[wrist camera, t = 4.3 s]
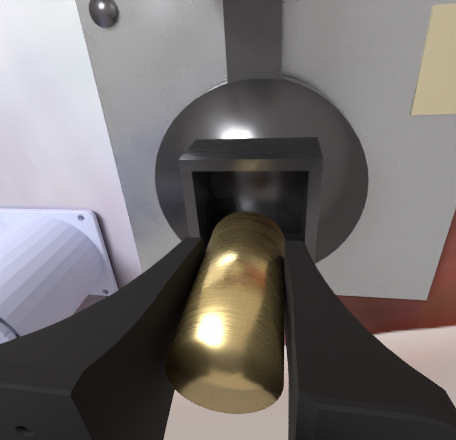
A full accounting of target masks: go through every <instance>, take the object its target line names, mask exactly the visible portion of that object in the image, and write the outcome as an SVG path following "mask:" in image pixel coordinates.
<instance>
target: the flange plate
mask: <svg viewBox="0 0 456 440" xmlns="http://www.w3.org/2000/svg"><path fill="white" fill-rule="evenodd" d="M75 1H76V5H77V9H78V13H79V17H80V21H81V25H82V29H83V33H84V37H85V41H86V45H87V49H88V53H89V58H90V62H91V66H92V70H93V74H94V78H95V82H96V86H97V90H98V94H99V98H100V102H101V106H102V110H103V114H104V118H105V122H106V126H107V130H108V134H109V138H110V142H111V146H112V151H113V155H114V159H115V163H116V167H117V171H118V175H119V179H120V183H121V187H122V191H123V195H124V199H125V203H126V207H127V211H128V215H129V219H130V223H131V227H132V231H133V235H134V239H135V244H136V248H137V252H138V256H139V260H140V264H141V268H142V272H143V273H144V272H145V271H146V270H148V269H149V268H150V267H152V266H153V265H154V264H155V263H157V262H158V261H159V260H160V259H161V258H163V257H164V256H165V255H166V254H167V253H169V252H170V251H171V250H172V249H173V248H174V247H176V246H177V245H178V244H179V243H180V242H181V240H180V239H179V238H178V236H177V235H176V234H175V233H174V231H173V230H172V228H171V227H170V226H169V224H168V222H167V220H166V218H165V217H164V215H163V212H162V210H161V207H160V205H159V201H158V197H157V193H156V186H155V165H156V158H157V154H158V150H159V147H160V144H161V141H162V139H163V137H164V135H165V133H166V131H167V129H168V128H169V126H170V125H171V123H172V122H173V120H174V119H175V118H176V117H177V116H178V114H179V113H180V112H181V111H182V110H183V109H184V108H185V107H186V106H188V105H189V104H190V103H191V102H192V101H194V100H195V99H196V98H198V97H199V96H200V95H202V94H203V93H205V92H206V91H208V90H209V89H211V88H213V87H214V86H216V85H218V84H220V83H222V82H225V81H227V65H226V48H225V32H224V16H223V0H75ZM282 76H286V77H289V78H293V79H296V80H299V81H302V82H304V83H306V84H308V85H310V86H312V87H314V88H315V89H317V90H318V91H320V92H321V93H323V94H324V95H326V96H327V97H328V98H329V99H330V100H331V101H332V102H333V103H334V104H335V105H336V106H337V107H338V108H339V110H340V111H341V112H342V113H343V114H344V116H345V117H346V119H347V120H348V122H349V123H350V125H351V126H352V128H353V129H354V131H355V133H356V135H357V136H358V138H359V140H360V142H361V145H362V148H363V150H364V153H365V157H366V161H367V166H368V178H369V183H368V194H367V199H366V203H365V207H364V210H363V212H362V215H361V217H360V220H359V221H358V223H357V225H356V227H355V228H354V230H353V231H352V233H351V234H350V235H349V237H348V238H347V239H346V241H345V242H344V243H343V244H342V245H341V246H340V247H339V248H338V249H336V250H335V251H334V252H333V253H331V254H330V255H329V256H328V257H326V258H324V259H323V260H321V261H319V262H318V263H316V264H315V265H316V267H317V269H318V270H319V272H320V273H321V275H322V276H323V278H324V279H325V281H326V282H327V284H328V285H329V287H330V288H331V289H332V291H333V292H334V293H335V295H345V296H362V297H379V298H396V299H413V300H427V297H428V294H429V291H430V288H431V284H432V281H433V278H434V275H435V272H436V269H437V266H438V262H439V259H440V256H441V253H442V250H443V247H444V243H445V240H446V237H447V234H448V231H449V228H450V225H451V221H452V218H453V215H454V212H455V209H456V0H283V24H282Z"/></svg>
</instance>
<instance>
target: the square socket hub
mask: <svg viewBox="0 0 456 440" xmlns="http://www.w3.org/2000/svg"><path fill="white" fill-rule="evenodd" d="M223 16H224V32H225V48H226V65H227V81H225V82H222V83H220V84H218V85H216V86H214V87H213V88H211V89H209V90H208V91H206V92H205V93H203V94H202V95H200V96H199V97H198V98H196V99H195V100H194V101H192V102H191V103H190V104H189V105H188V106H186V107H185V108H184V109H183V110H182V111H181V112H180V113H179V114H178V116H177V117H176V118H175V119H174V120H173V122H172V123H171V125H170V126H169V128H168V129H167V131H166V133H165V135H164V137H163V139H162V141H161V144H160V147H159V150H158V154H157V158H156V165H155V186H156V193H157V197H158V201H159V205H160V207H161V210H162V212H163V215H164V217H165V218H166V220H167V222H168V224H169V226H170V227H171V228H172V230H173V231H174V233H175V234H176V235H177V236H178V238H179V239H180V240H181V241H183V240H184V239H185V238H186V237H197V238H203V247H204V255H205V252H206V249H207V247H208V244H209V241H210V239H211V236H212V233H213V231H214V229H215V227H216V225H217V224H218V223H219V222H220V221H221V220H222V219H223V218H224V217H226V216H228V215H230V214H233V213H237V212H246V211H247V212H255V213H259V214H262V215H264V216H266V217H268V218H270V219H271V220H272V221H274V222H275V223H276V224H277V225H278V227H279V228H280V229H281V231H282V233H283V235H284V239H285V241H303V242H304V243H305V245H306V247H307V250H308V252H309V254H310V256H311V258H312V260H313V262H314V263H315V264H316V263H318V262H319V261H321V260H323V259H324V258H326V257H328V256H329V255H330V254H331V253H333V252H334V251H335V250H336V249H338V248H339V247H340V246H341V245H342V244H343V243H344V242H345V241H346V239H347V238H348V237H349V235H350V234H351V233H352V231H353V230H354V228H355V227H356V225H357V223H358V221H359V220H360V217H361V215H362V212H363V210H364V207H365V203H366V199H367V194H368V183H369V178H368V166H367V161H366V157H365V153H364V150H363V148H362V145H361V142H360V140H359V138H358V136H357V135H356V133H355V131H354V129H353V128H352V126H351V125H350V123H349V122H348V120H347V119H346V117H345V116H344V114H343V113H342V112H341V111H340V110H339V108H338V107H337V106H336V105H335V104H334V103H333V102H332V101H331V100H330V99H329V98H328V97H327V96H326V95H324V94H323V93H321V92H320V91H318V90H317V89H315V88H314V87H312V86H310V85H308V84H306V83H304V82H302V81H299V80H296V79H293V78H289V77H286V76H282V24H283V0H223Z"/></svg>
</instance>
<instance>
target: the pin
mask: <svg viewBox="0 0 456 440" xmlns="http://www.w3.org/2000/svg"><path fill="white" fill-rule="evenodd" d="M284 253H285V239H284V235H283V233H282V231H281V229H280V228H279V227H278V225H277V224H276V223H275V222H274V221H272V220H271V219H270V218H268V217H266V216H264V215H262V214H259V213H255V212H247V211H246V212H237V213H233V214H230V215H228V216H226V217H224V218H223V219H222V220H221V221H220V222H219V223H218V224H217V225H216V227H215V229H214V231H213V233H212V236H211V239H210V241H209V244H208V247H207V249H206V252H205V255H204V257H203V260H202V263H201V265H200V268H199V271H198V273H197V276H196V279H195V281H194V284H193V287H192V289H191V292H190V295H189V297H188V300H187V303H186V305H185V308H184V311H183V313H182V316H181V319H180V321H179V324H178V327H177V329H176V332H175V335H174V337H173V340H172V343H171V345H170V348H169V351H168V354H167V356H166V359H165V365H164V368H165V373H166V376H167V378H168V380H169V382H170V383H171V385H172V386H173V387H174V388H175V390H176V391H178V392H179V393H180V394H181V395H182V396H184V397H185V398H186V399H188V400H190V401H191V402H193V403H195V404H197V405H199V406H202V407H204V408H207V409H210V410H214V411H218V412H224V413H231V414H244V413H252V412H256V411H260V410H263V409H265V408H267V407H269V406H271V405H272V404H274V403H275V402H276V401H277V400H278V399H279V397H280V396H281V393H282V391H283V387H284V310H285V284H284Z"/></svg>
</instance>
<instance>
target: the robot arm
mask: <svg viewBox="0 0 456 440" xmlns="http://www.w3.org/2000/svg"><path fill="white" fill-rule="evenodd" d="M81 215H82V216H83V217H84V218H82V217H81ZM203 257H204V247H203V238H197V237H186V238H185V239H184V240H183V241H181V242H180V243H179V244H178V245H177V246H176V247H174V248H173V249H172V250H171V251H170V252H169V253H167V254H166V255H165V256H164V257H163V258H161V259H160V260H159V261H158V262H157V263H155V264H154V265H153V266H152V267H150V268H149V269H148V270H146V271H145V272H144V273H142V274H141V275H140V276H138V277H137V278H136V279H134V280H133V281H132V282H130V283H129V284H127V285H126V286H124V287H123V288H121V289H120V290H118V287H117V283H116V280H115V277H114V274H113V270H112V267H111V264H110V260H109V257H108V254H107V251H106V247H105V244H104V241H103V237H102V234H101V231H100V228H99V224H98V221H97V218H96V215H95V214H94V213H93V212H92V211H90V210H60V209H6V208H0V440H163V439H164V434H165V429H166V425H167V420H168V416H169V411H170V407H171V403H172V399H173V394H174V390H175V388H174V387H173V386H172V385H171V383H170V382H169V380H168V378H167V376H166V373H165V368H164V365H165V359H166V356H167V354H168V351H169V348H170V345H171V343H172V340H173V337H174V335H175V332H176V329H177V327H178V324H179V321H180V319H181V316H182V313H183V311H184V308H185V305H186V303H187V300H188V297H189V295H190V292H191V289H192V287H193V284H194V281H195V279H196V276H197V273H198V271H199V268H200V265H201V263H202V260H203ZM284 284H285V310H284V326H285V337H286V348H287V359H288V374H289V438H288V440H456V408H455V406H454V405H453V403H452V401H451V400H450V398H449V396H448V395H447V393H446V391H445V390H444V389H443V388H441V387H440V386H438V385H437V384H435V383H434V382H433V381H431V380H430V379H428V378H427V377H425V376H424V375H423V374H421V373H420V372H418V371H417V370H415V369H414V368H412V367H411V366H410V365H408V364H407V363H406V362H404V361H403V360H402V359H401V358H399V357H398V356H397V355H396V354H394V353H393V352H392V351H391V350H389V349H388V348H387V347H386V346H384V345H383V344H382V343H381V342H380V341H379V340H378V339H377V338H376V337H375V336H373V335H372V334H371V333H370V332H369V331H368V330H367V329H366V328H365V327H364V326H363V325H362V324H361V323H360V322H359V321H358V320H357V319H356V318H355V317H354V316H353V315H352V314H351V313H350V312H349V310H348V309H347V308H346V307H345V306H344V305H343V303H342V302H341V301H340V300H339V299H338V297H337V296H336V295H335V293H334V292H333V291H332V289H331V288H330V287H329V285H328V284H327V282H326V281H325V279H324V278H323V276H322V275H321V273H320V272H319V270H318V269H317V267H316V265H315V263H314V262H313V260H312V258H311V256H310V254H309V252H308V250H307V247H306V245H305V243H304V242H303V241H285V253H284ZM87 295H101V296H108V297H107V298H105V299H103V300H101V301H99V302H97V303H96V304H94V305H92V306H90V307H88V308H86V309H84V310H82V311H80V312H79V313H76V314H74V312H75V311H76V310H77V308H78V307H79V306H80V305H81V303H82V302H83V301H84V299H85V298H86V297H87ZM73 314H74V315H73Z"/></svg>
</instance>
